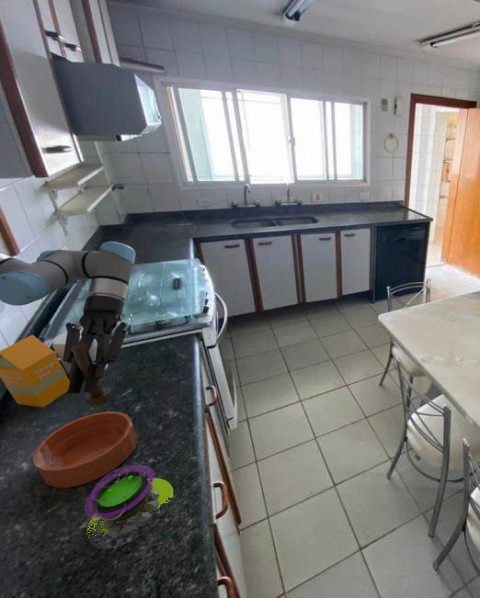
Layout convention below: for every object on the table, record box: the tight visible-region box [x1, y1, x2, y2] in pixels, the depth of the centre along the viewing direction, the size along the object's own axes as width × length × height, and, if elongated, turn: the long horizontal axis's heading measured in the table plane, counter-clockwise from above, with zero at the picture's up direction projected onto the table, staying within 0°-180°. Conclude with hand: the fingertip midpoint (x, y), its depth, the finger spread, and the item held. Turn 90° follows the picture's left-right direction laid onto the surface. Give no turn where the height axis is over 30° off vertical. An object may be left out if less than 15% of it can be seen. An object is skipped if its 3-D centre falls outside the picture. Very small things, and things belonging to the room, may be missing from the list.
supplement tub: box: [51, 328, 109, 375], centre depth 106 cm, size 10×10×15 cm
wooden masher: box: [71, 343, 114, 407], centre depth 80 cm, size 5×5×16 cm
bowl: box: [32, 410, 138, 489], centre depth 81 cm, size 18×18×6 cm
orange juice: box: [0, 334, 71, 408], centre depth 93 cm, size 8×9×20 cm
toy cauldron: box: [84, 465, 174, 538], centre depth 68 cm, size 15×15×11 cm
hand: (81, 392), depth 77 cm, fingers closed on wooden masher, 3 cm apart
